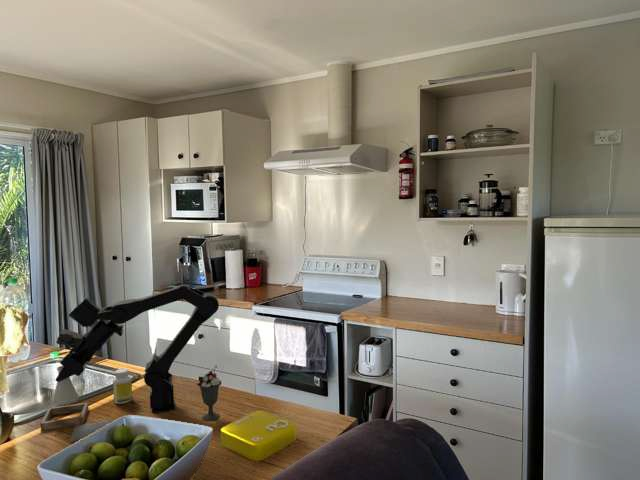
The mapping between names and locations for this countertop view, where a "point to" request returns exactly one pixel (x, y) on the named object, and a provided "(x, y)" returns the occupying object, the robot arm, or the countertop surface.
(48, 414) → the walnut well
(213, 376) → the sundae
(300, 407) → the countertop surface
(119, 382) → the supplement bottle
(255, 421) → the element tile
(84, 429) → the rubber mat
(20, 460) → the countertop surface
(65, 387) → the flask
